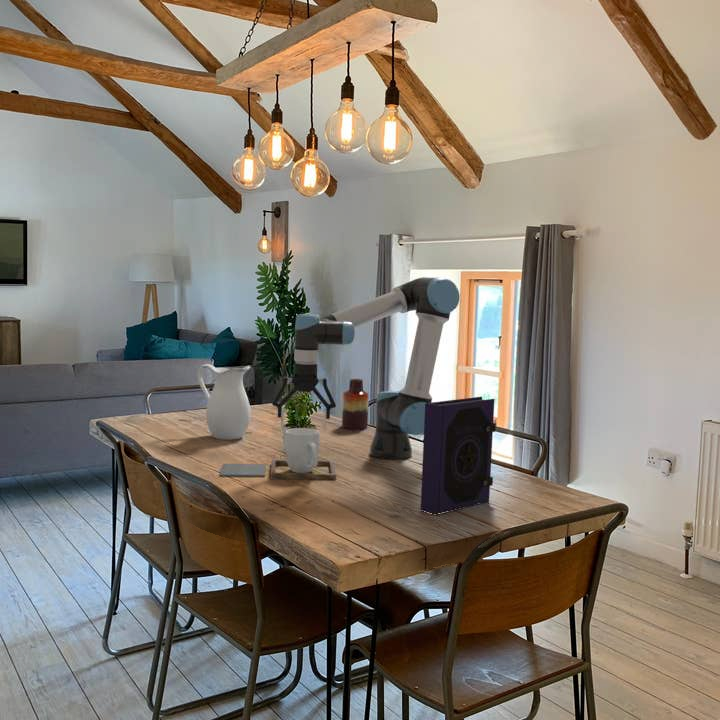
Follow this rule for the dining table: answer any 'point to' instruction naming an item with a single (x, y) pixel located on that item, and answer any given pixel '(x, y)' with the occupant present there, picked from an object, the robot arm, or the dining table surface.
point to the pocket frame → (302, 475)
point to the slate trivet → (243, 470)
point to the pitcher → (226, 403)
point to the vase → (355, 406)
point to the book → (457, 454)
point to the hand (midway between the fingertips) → (303, 428)
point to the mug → (302, 449)
